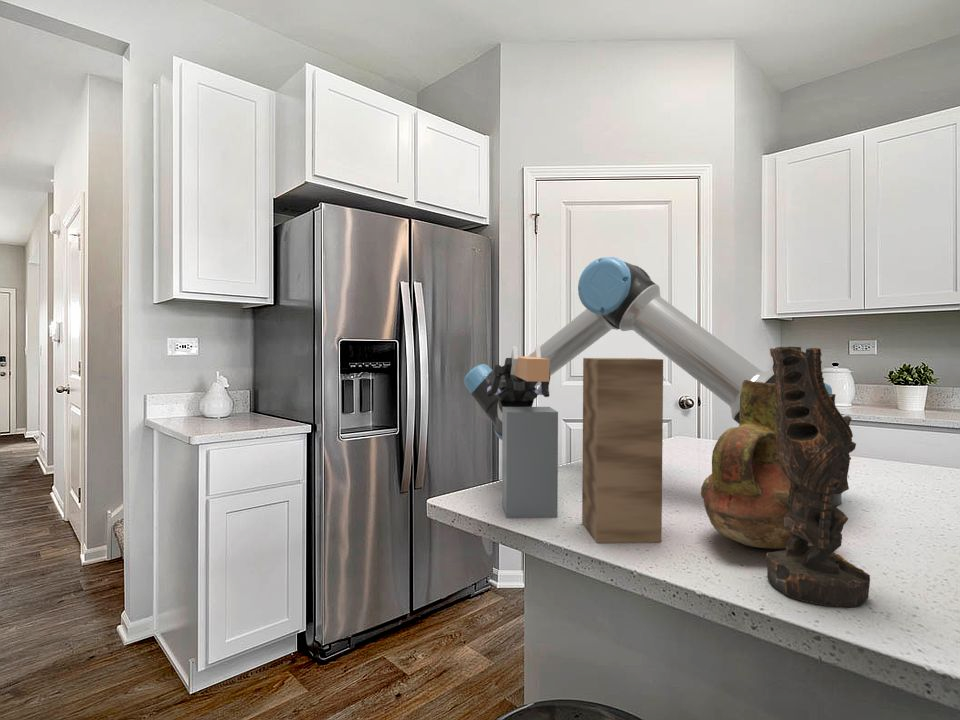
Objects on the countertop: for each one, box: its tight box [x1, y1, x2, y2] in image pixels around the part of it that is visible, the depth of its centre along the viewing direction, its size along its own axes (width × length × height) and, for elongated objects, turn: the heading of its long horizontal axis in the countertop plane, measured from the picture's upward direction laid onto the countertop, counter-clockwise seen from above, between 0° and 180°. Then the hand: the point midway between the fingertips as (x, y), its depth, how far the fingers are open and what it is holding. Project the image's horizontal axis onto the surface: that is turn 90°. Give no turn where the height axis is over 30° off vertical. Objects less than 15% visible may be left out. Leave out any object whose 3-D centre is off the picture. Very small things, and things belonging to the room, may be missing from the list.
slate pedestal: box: [501, 406, 559, 519], centre depth 104 cm, size 9×9×18 cm
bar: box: [514, 355, 550, 383], centre depth 104 cm, size 25×4×4 cm, turn 2°
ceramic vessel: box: [700, 380, 830, 550], centre depth 87 cm, size 17×26×25 cm, turn 131°
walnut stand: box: [581, 357, 664, 544], centre depth 91 cm, size 10×10×28 cm
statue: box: [765, 346, 871, 608], centre depth 70 cm, size 10×10×30 cm
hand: (526, 352), depth 106 cm, fingers closed on bar, 4 cm apart
